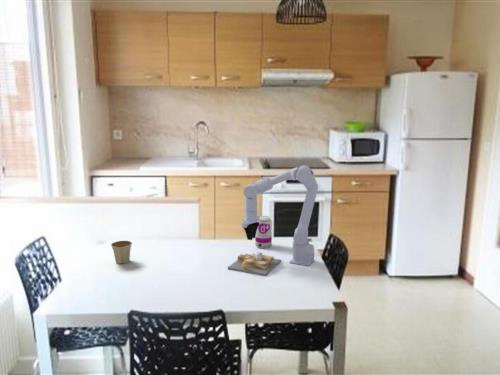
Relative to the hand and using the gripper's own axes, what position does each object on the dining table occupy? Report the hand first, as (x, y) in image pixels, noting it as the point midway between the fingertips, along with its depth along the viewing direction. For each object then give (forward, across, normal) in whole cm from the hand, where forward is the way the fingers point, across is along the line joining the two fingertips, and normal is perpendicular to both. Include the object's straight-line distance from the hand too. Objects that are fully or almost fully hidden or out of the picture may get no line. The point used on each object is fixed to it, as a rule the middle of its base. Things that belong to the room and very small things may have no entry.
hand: (251, 238), depth 200 cm
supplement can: (+10, -18, -2) cm, 21 cm away
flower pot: (+10, +28, -53) cm, 61 cm away
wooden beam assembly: (+9, +7, +4) cm, 12 cm away
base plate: (+10, +7, +5) cm, 13 cm away
